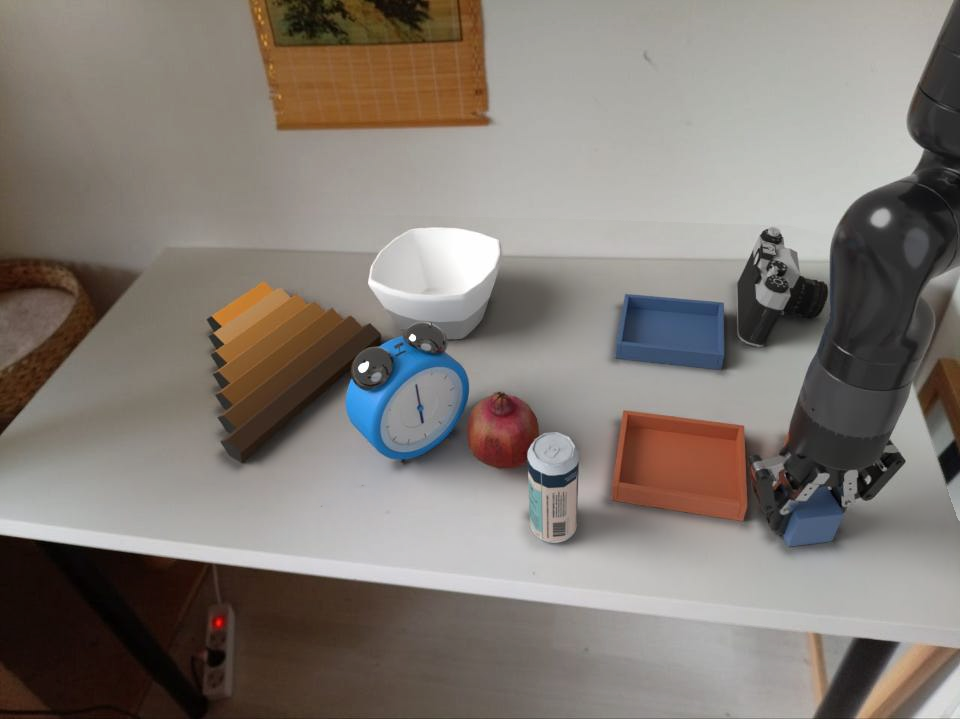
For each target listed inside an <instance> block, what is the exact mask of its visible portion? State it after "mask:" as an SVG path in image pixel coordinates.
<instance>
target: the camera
mask: <svg viewBox="0 0 960 719" xmlns="http://www.w3.org/2000/svg"><path fill="white" fill-rule="evenodd" d="M828 296H829V286H828V285H827V283H825V281H823V280H821V281H819V280H818V279H811V278H808V277H805V276H803V275H802V274H801V270H800V263H799V256H798V252H797V251H795V250H794V249H792V248H790V247H789V248H787V247H786V246H785V241H784V237H783V235H782V233H781V230H780V229H779V228H778V227H774V226H771V227H769V228H766V229H764V230H762V231H761V233H760V234H759V235H758V238H757V239H756V242H755V244H754V246H753V248H752V251H751V253H750V255H749V258H748V260H747V262H746V264H745V266H744V268H743V271H742V273H741V274H740V277H739V279H738V281H737V282H736V324H737V325H736V326H737V333H736V334H737V337H738V338H739V340H740V341H742V342H743V343H745V344H746V345H750V346H754V347H758V348H763V347H764V346H765V344H766V342H767V341H768V339H769V337H770V335H771V333H772V331H773V330H774V327H775V326H776V324H777V322H778V320H779V318H780V317H781V315H783V316H784V314H789V315H792V314H794V315H798V316H800V317H802V318H809V319H813V318H817V317H819V316H820V315H821V314H822V312H823V310H824V308H825V305H826V303H827V300H828Z"/></svg>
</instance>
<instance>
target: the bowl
mask: <svg viewBox="0 0 960 719" xmlns="http://www.w3.org/2000/svg"><path fill="white" fill-rule="evenodd" d="M502 261H503V250H502V243H501V242H500V240H499V239H497V238H495V237H492V236H489V235H487V234H484V233H482V232H478V231H474V230H469V229H464V228H459V227H440V226H439V227H438V226H432V227H417V228H411V229H408V230H406V231H405V232H403V233H402V234H400V235H398V236H397V237H395V238H393V239H392V240H390V242H389V243H388V244H387V245H385V246H384V247H383V248H382V249H381V250H380V251H379V252H378V254H377V255H376V257H375V258H374V260H373V262H372V264H371V265H370V268H369V269H370V270H369V275H368V280H367V281H368V284H367V285H368V286H369V288H370V289H371V291H372V292H373V294H374V295H375V297H376V298H377V300H378V301H379V302H380V304H381V305H382V307H383V308H384V309H385V310H386V312H387V313H388V315H389V316H390V317H391V319H392V321H393V322H394V323H395V325H396V326H397V328H398V329H399V330H401V331H404V332H405V331H406V329H407V328H408V327H409V326H411V325H412V324H415V323H419V322H427V323H430V322H431V323H432V324H434V325H436V326H438V327H439V328H440V329H441V330H442V331H443V332H444V333H445V335H446V337H447V340H461V339H465V337H467V336H468V335H469V334H471V332H472V331H474V330H475V329H476V327H478V325H479V324H480V323H481V322H482V320H483V319H484V315H485V313H486V311H487V310H486V309H487V306H488V304H489V300H490V297H491V295H492V292H493V288H494V286H495V283H496V280H497V277H498V274H499V270H500V267H501V264H502Z"/></svg>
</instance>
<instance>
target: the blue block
mask: <svg viewBox="0 0 960 719" xmlns="http://www.w3.org/2000/svg"><path fill="white" fill-rule="evenodd" d="M829 489H830V488H829V487H825V486H824V487H820V488H817V489H816V490H815V491H814V493H813V494H812V495H811V496H810V498H809V499H808V500H807V501H806V502H801V501H800V502H799V504H798V505H797V506H796V507H795V508H794V510H793V511H792V515H791V518H790V521H789V523H788V526H787V529H786V531H785V534H783V535H781V536H782V538H783V539H784V541H785V544H786V546H787V547H789V548H791V547H797V546H805V545H814V544H821V543H822V544H823V543H829V542H833V540H834V538H835V535H836V534H837V532H838V528H839V527H840V525H841V522H842V520H843V518H844V516H845V513H843V511H842V510H841V508H840V506H839V505H838V503H837V502H836V500H835V498H834V497H833V495H832V493H831V492H830V490H829ZM785 495H786V497H787V495H788V493H787V491H786V492H785Z"/></svg>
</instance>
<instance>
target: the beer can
mask: <svg viewBox="0 0 960 719" xmlns="http://www.w3.org/2000/svg"><path fill="white" fill-rule="evenodd" d="M527 458H528V461H527V479H528V480H527V481H528V482H527V483H528V504H529V506H528V507H529V525H530V529H531V532H532V533H533V534H534V536H535V537H537V538H538V539H539V540H540V541H543V542H546V543H549V544H550V543H551V544H553V543H554V544H556V543H557V544H558V543H562V542H565V541H567V540H569V539H571V537H573V535H574V534H575V533H576V530H577V526H578V503H579V502H578V501H579V476H580V474H579V473H580V471H579V470H580V452H579V449H578V447H577V445H576V444H575V443H574V442H573V440H572V439H571V437H570V436H568V435H566V434H563V433H560V432H558V431H555V432H553V431H552V432H544V433H542V434H541V435H540V436H539V437H538V438H536V439H535V440H534V442H533V443H532V444H531V446H530V448H529V450H528V456H527Z"/></svg>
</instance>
